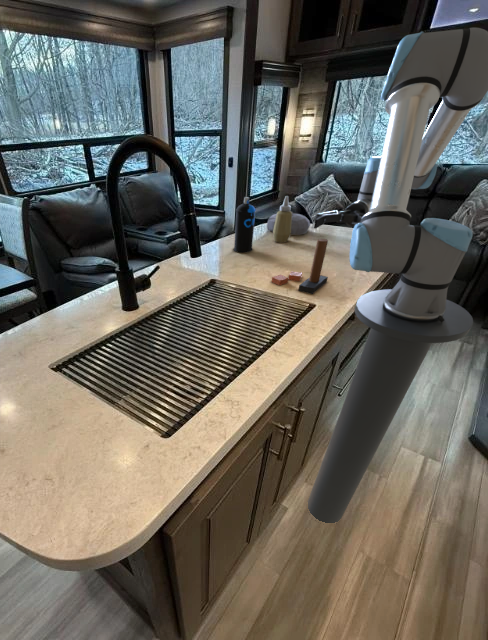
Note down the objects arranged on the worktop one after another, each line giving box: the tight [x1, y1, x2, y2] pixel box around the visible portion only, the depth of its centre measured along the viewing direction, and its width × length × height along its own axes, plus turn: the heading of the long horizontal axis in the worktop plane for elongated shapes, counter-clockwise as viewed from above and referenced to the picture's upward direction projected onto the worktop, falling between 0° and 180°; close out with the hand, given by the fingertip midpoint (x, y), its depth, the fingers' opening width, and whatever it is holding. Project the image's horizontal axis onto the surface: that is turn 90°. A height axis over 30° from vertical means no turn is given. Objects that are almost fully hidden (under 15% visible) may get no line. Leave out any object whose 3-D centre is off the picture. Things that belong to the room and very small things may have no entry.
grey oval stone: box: [266, 212, 311, 236], centre depth 162 cm, size 15×8×20 cm
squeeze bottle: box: [272, 195, 293, 244], centre depth 148 cm, size 8×8×18 cm
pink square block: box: [287, 270, 303, 282], centre depth 119 cm, size 4×4×2 cm
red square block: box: [271, 274, 289, 286], centre depth 117 cm, size 4×4×2 cm
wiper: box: [298, 238, 329, 295], centre depth 109 cm, size 5×12×15 cm, turn 141°
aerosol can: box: [233, 196, 257, 254], centre depth 140 cm, size 8×8×20 cm
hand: (335, 226), depth 109 cm, fingers open, 13 cm apart
